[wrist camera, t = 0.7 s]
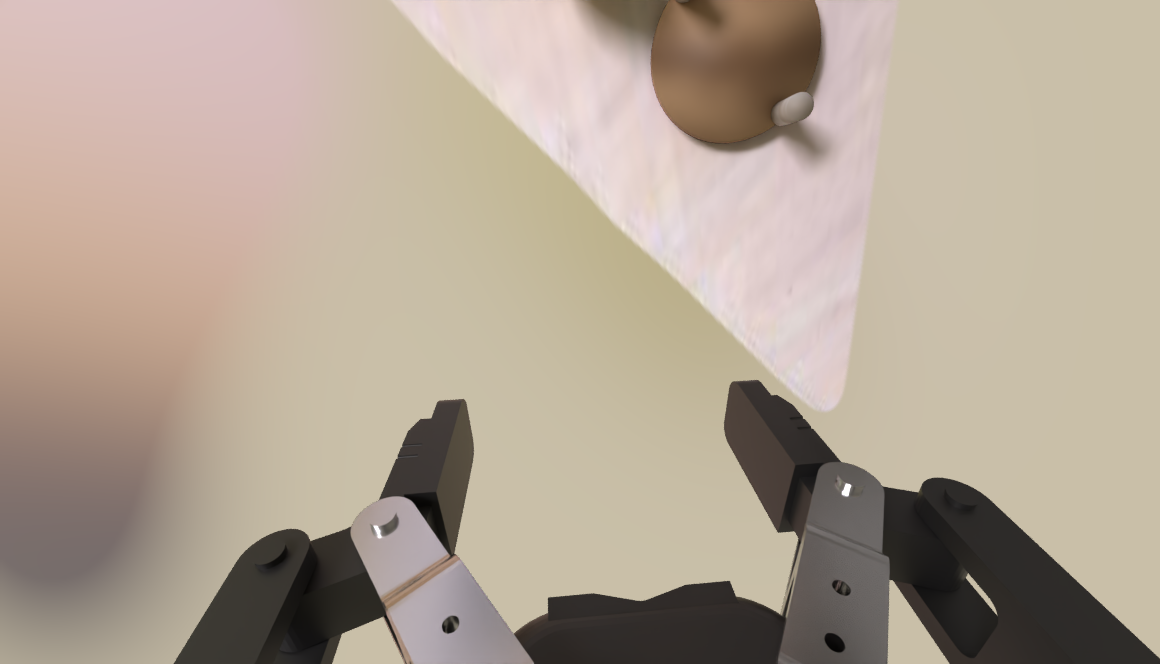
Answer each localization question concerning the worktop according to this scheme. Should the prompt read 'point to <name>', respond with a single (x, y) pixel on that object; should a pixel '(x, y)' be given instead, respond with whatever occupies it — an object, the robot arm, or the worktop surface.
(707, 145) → the worktop surface
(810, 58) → the pin dish
